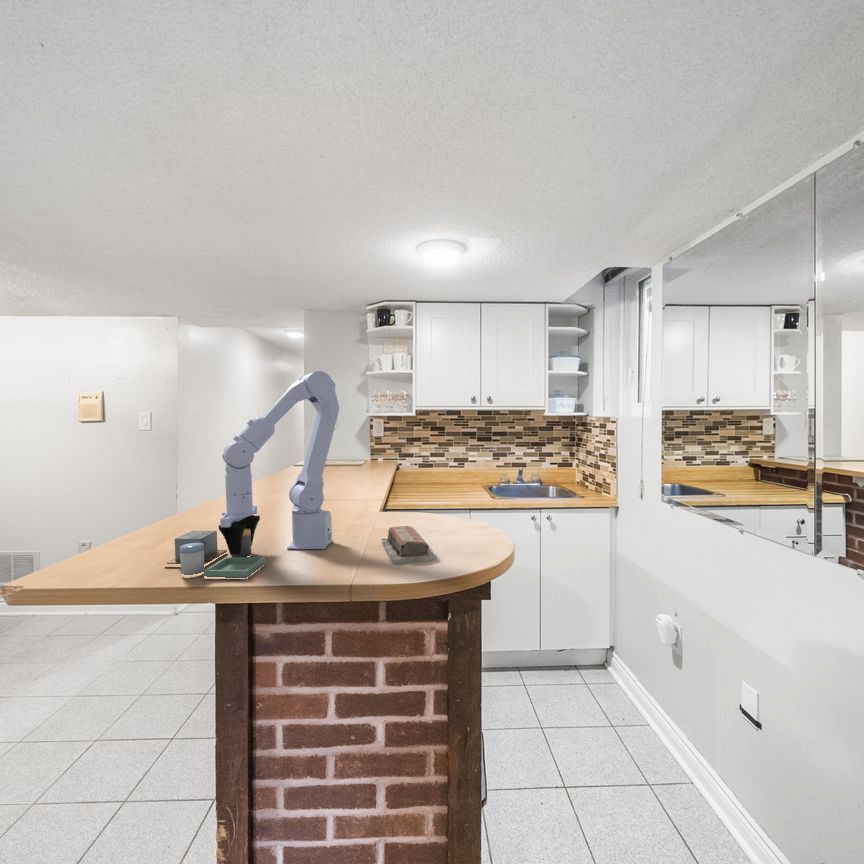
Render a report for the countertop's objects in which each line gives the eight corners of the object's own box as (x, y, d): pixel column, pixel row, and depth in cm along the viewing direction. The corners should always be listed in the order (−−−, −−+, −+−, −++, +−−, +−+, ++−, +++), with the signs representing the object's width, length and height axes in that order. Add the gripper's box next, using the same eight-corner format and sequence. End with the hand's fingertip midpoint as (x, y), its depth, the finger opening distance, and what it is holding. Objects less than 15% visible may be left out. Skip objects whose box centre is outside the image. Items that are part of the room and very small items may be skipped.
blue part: (208, 571, 99) (207, 542, 99) (197, 578, 95) (196, 548, 95) (188, 571, 100) (187, 542, 99) (176, 578, 95) (175, 548, 95)
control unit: (227, 553, 112) (226, 529, 112) (204, 567, 102) (203, 540, 102) (190, 553, 112) (189, 529, 112) (164, 567, 102) (163, 540, 102)
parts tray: (265, 565, 103) (265, 557, 103) (247, 579, 94) (246, 570, 94) (225, 565, 103) (225, 557, 103) (203, 579, 94) (203, 570, 94)
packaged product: (380, 526, 119) (418, 523, 121) (380, 544, 119) (418, 541, 122) (392, 544, 101) (436, 541, 104) (392, 566, 102) (436, 562, 104)
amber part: (254, 553, 112) (253, 528, 111) (246, 559, 107) (245, 532, 107) (236, 553, 112) (235, 528, 112) (227, 559, 108) (226, 532, 107)
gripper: (237, 488, 116) (238, 541, 117) (206, 499, 102) (208, 560, 103) (264, 488, 116) (266, 541, 117) (237, 498, 102) (239, 560, 102)
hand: (241, 550), depth 110 cm, fingers open, 5 cm apart
